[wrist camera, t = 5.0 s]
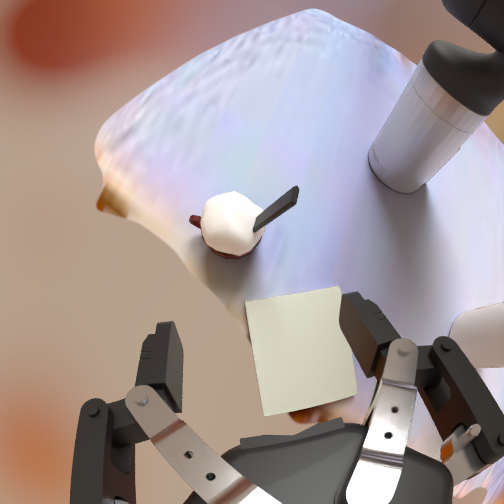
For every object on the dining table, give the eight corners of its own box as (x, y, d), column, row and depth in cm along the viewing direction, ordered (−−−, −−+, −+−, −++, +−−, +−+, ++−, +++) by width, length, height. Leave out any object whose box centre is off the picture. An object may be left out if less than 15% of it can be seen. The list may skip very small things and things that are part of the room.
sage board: (336, 287, 30) (339, 285, 29) (354, 392, 26) (357, 394, 25) (244, 302, 29) (244, 301, 28) (263, 414, 25) (264, 416, 24)
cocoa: (187, 238, 31) (152, 183, 20) (222, 197, 32) (205, 128, 21) (256, 288, 29) (256, 256, 18) (290, 242, 31) (308, 186, 19)
